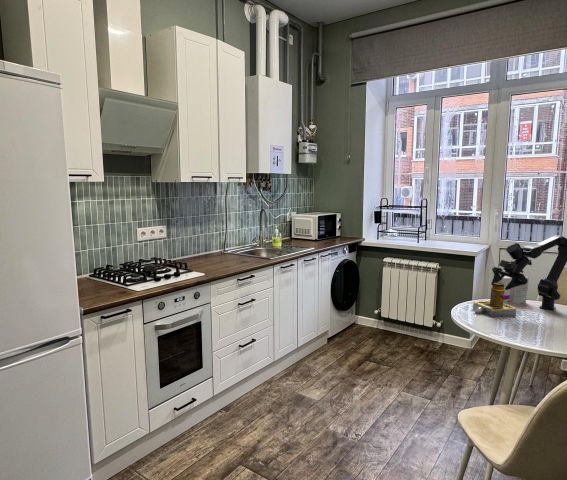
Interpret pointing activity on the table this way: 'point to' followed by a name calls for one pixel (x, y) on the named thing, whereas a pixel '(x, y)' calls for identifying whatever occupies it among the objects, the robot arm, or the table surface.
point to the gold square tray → (493, 309)
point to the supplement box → (519, 293)
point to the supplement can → (506, 281)
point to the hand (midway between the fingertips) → (498, 287)
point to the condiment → (496, 296)
